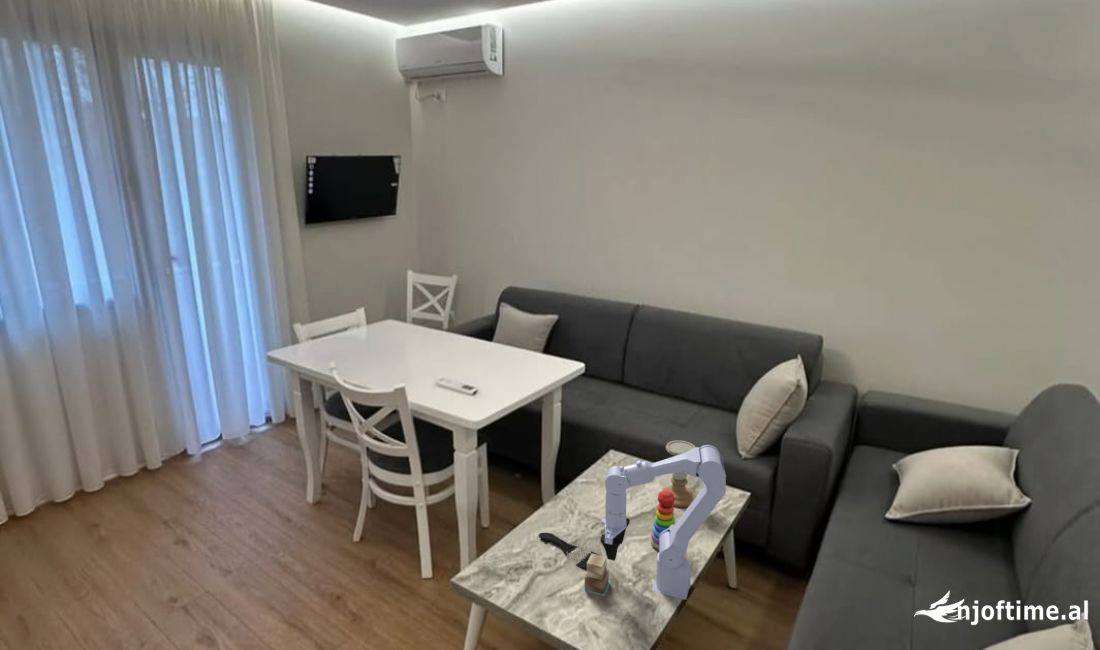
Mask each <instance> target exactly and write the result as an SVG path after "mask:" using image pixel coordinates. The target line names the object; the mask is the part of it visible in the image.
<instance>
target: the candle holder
mask: <svg viewBox="0 0 1100 650" xmlns="http://www.w3.org/2000/svg"><path fill="white" fill-rule="evenodd" d="M696 447H697V446H696V445H694V444H693V443H692V442H688V441H685V440H680V439H679V440H671V441H669V442H667V443H666V445H665V449H666V452H667V453H669V454H670V455H673V456H677V455H680V454H683V453H686V452H687V451H689V450H691V449H693V448H696ZM687 477H688V473H687V472H686V471H681V472H676V473H671V478H670V482H671V484H672V485H669V486H668V485H667V486H666V487H664V488H663V489H662V490H669V491H671V492H672V493H673V495H674V503H673V504H672V505H673V507H677V508H678V507H679V508H685V507H687V508H688V507H689V506H690V504H691V503H692V502H693V500H694V499H695V498H696V496H697V495H696V493H695V492H694V490H692V489H690V488H688V487H687V486H686V485H687V484H688V479H687Z"/></svg>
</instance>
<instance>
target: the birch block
mask: <svg viewBox="0 0 1100 650" xmlns="http://www.w3.org/2000/svg"><path fill="white" fill-rule="evenodd" d="M597 554H598V553H597ZM597 554H591V556H590V558H589V560H588V562H587V569H586V573H587V577H591V578H595V579H599V580H602V579H603V577H604V574H605V572H606V569H607V560H608V558H607V556H604V555H602V556H601V554H599V555H597Z"/></svg>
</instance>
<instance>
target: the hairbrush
mask: <svg viewBox="0 0 1100 650" xmlns="http://www.w3.org/2000/svg"><path fill="white" fill-rule="evenodd" d="M538 537H539V539H540V538H541V539H540V540H542V541H545V542H550V543H553V544H556V545H558V546H559V547H561V549H562V551H563V554H564V556H565V557H568V555H569V554H570V555H572V557H573V561H575V562H577V563H575V567H577V568H580V569H583V570H587V562H588V560H589V558H590V556H591V554H597V555H601V556H603V555H602V553H600V552H598V553H597V550H595V549H594V550H593V551H592V548H591V547H589V549H588V552H587V553H586V551H582V549H583V550H584V549H585V548H587V546H585V548H584V545H582V547H581V546H580V547H581V548H580V550H581V551H582V554H581V553H580V552H577V554H575V551H577V550H578V548H579V545H578V544H577V543H575V544H576V545H574V544H573V545H572V542H570V543H571V544H570V543H569V542H567V541H565V540H563V539H562V538H561V537H558V536H556V535H555V534H554V533H550V532H541V533H539V534H538ZM572 552H573V554H571V553H572ZM584 554H586V555H584ZM577 556H582V557H583V558H578V559H577Z"/></svg>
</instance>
